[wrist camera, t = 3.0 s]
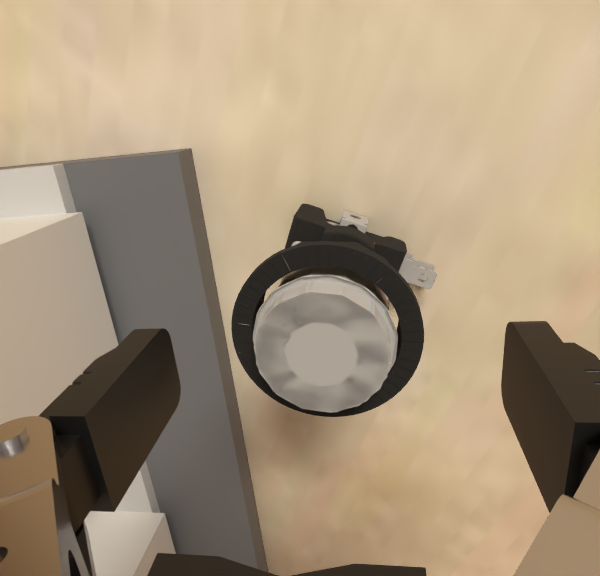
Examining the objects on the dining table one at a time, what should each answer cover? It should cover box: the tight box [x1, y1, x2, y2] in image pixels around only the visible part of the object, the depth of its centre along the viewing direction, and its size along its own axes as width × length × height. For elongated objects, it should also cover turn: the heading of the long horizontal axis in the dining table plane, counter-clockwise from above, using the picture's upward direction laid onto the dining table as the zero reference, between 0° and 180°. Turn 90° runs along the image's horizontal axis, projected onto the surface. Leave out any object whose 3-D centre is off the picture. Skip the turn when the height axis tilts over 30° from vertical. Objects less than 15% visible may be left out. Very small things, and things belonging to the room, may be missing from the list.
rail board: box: [0, 148, 268, 576], centre depth 22 cm, size 14×28×10 cm, turn 6°
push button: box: [232, 204, 437, 417], centre depth 17 cm, size 7×5×10 cm
